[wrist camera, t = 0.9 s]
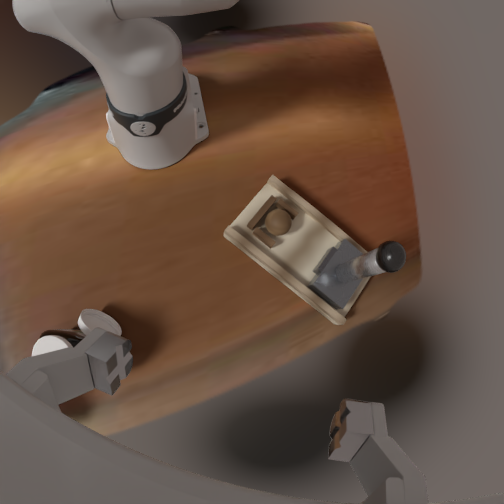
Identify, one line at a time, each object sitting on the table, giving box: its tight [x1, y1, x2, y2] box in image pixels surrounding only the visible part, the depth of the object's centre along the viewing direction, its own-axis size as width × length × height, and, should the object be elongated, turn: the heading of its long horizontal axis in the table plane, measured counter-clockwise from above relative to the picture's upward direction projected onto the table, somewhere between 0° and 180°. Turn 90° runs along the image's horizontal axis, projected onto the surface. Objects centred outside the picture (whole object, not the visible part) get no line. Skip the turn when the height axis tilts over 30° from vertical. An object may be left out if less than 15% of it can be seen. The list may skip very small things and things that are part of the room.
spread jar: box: [32, 309, 122, 356], centre depth 39 cm, size 12×11×12 cm
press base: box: [224, 175, 371, 325], centre depth 50 cm, size 23×12×4 cm, turn 52°
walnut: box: [265, 209, 292, 236], centre depth 48 cm, size 4×4×4 cm
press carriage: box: [307, 239, 406, 310], centre depth 41 cm, size 7×9×18 cm
